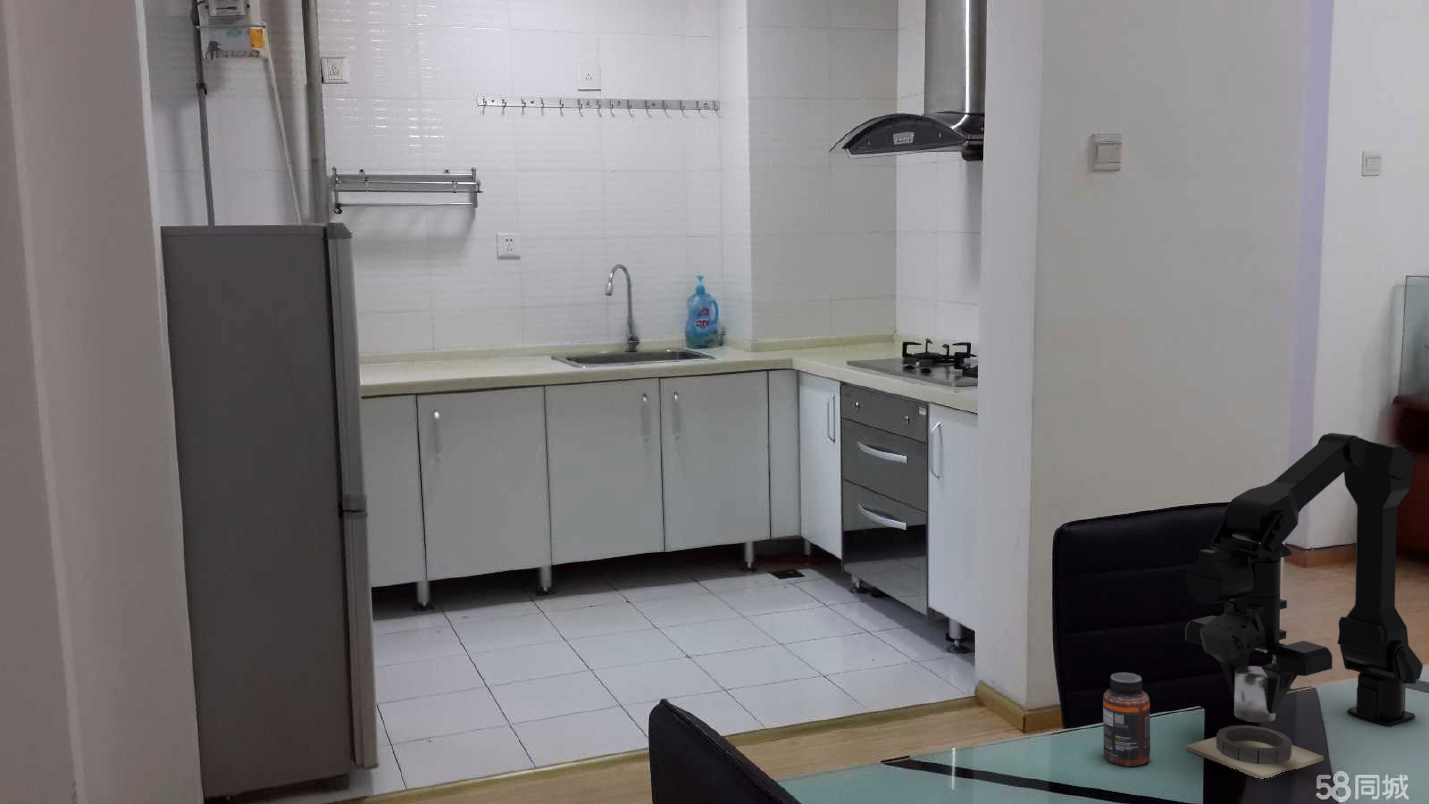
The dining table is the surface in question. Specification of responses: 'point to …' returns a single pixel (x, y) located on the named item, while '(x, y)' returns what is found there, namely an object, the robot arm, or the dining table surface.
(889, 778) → the dining table surface
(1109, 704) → the supplement bottle
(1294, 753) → the ring seat
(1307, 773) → the dining table surface
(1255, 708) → the cylinder
